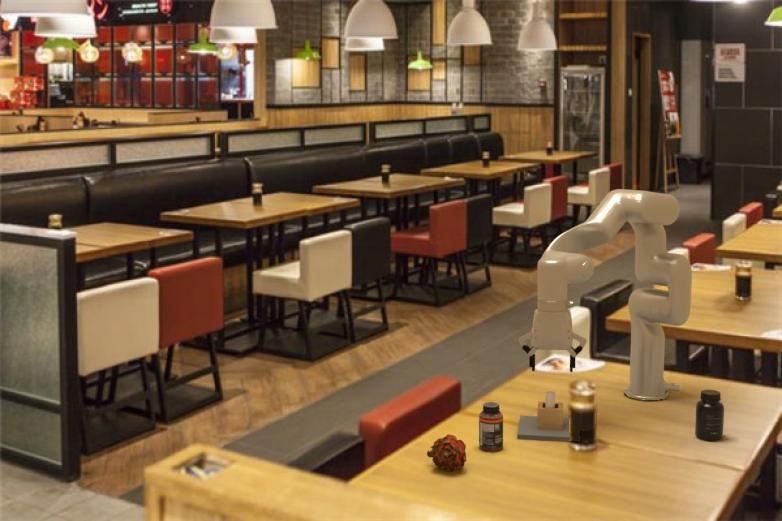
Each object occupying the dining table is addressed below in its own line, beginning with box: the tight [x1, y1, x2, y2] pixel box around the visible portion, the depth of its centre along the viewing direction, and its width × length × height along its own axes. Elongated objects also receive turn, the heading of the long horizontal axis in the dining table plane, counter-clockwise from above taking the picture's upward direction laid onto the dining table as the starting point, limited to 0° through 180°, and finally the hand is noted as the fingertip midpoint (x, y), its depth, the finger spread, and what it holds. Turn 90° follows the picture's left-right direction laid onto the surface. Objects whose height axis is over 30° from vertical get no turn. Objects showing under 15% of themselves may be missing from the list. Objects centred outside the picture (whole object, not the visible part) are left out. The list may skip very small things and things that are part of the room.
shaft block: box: [516, 390, 570, 443], centre depth 262 cm, size 16×16×10 cm
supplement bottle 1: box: [478, 401, 504, 453], centre depth 248 cm, size 6×6×11 cm
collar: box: [536, 401, 564, 431], centre depth 262 cm, size 6×6×6 cm
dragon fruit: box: [426, 433, 467, 472], centre depth 236 cm, size 8×8×12 cm
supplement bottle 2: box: [694, 389, 725, 442], centre depth 255 cm, size 7×7×12 cm
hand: (552, 370), depth 260 cm, fingers open, 9 cm apart
